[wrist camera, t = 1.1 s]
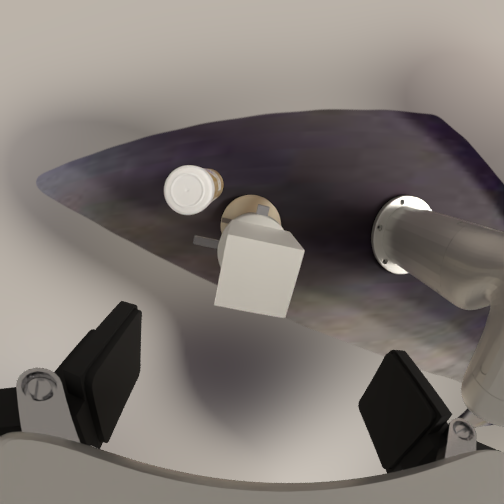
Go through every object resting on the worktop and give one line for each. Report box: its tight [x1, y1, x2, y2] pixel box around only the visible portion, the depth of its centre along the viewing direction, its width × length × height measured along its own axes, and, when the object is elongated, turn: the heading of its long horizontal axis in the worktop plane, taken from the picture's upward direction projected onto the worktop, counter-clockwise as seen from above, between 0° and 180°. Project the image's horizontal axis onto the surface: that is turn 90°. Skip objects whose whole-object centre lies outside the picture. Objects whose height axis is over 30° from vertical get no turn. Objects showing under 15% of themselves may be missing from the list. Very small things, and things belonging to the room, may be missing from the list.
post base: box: [221, 195, 281, 233], centre depth 32 cm, size 8×8×12 cm
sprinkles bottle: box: [164, 165, 223, 215], centre depth 30 cm, size 5×5×13 cm
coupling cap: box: [193, 204, 305, 318], centre depth 22 cm, size 9×8×8 cm
